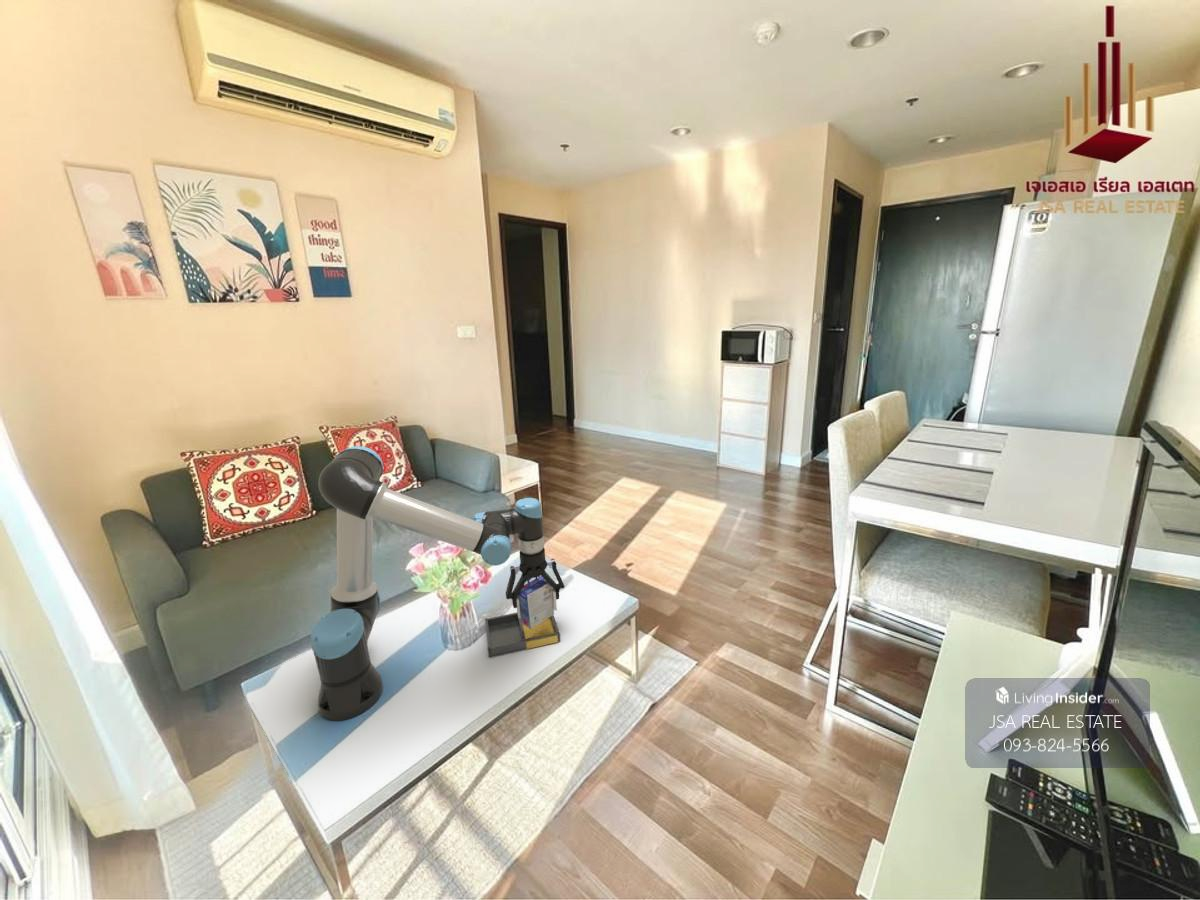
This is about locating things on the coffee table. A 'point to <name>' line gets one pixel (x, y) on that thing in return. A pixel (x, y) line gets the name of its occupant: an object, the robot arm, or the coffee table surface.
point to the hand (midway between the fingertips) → (537, 611)
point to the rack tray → (518, 634)
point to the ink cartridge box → (536, 602)
